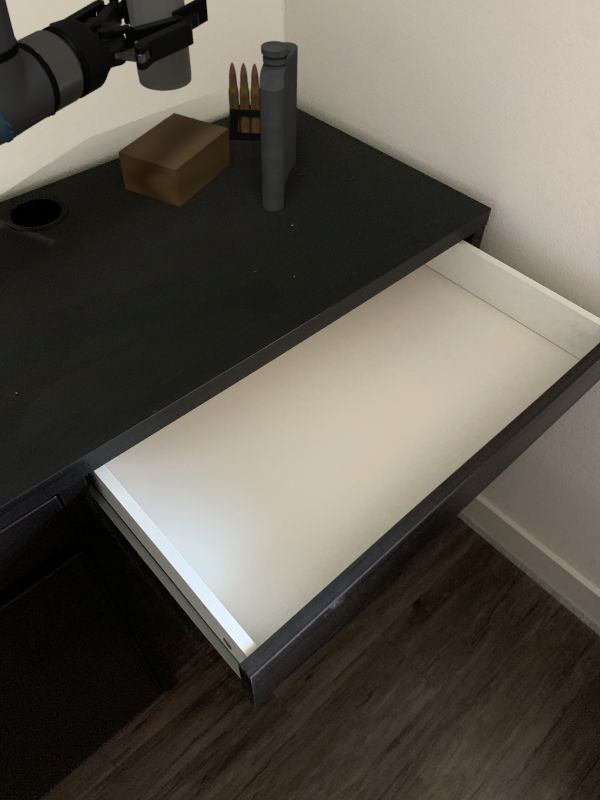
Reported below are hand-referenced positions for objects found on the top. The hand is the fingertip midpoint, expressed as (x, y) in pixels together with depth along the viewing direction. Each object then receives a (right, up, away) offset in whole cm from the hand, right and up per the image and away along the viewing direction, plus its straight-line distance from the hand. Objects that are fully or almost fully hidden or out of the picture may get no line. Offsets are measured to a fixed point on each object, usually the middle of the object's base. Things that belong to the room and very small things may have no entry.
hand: (179, 2), depth 86 cm
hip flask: (+12, -18, +16) cm, 27 cm away
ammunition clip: (+9, -8, +25) cm, 28 cm away
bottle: (-3, -9, +3) cm, 9 cm away
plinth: (-3, -17, +16) cm, 24 cm away
